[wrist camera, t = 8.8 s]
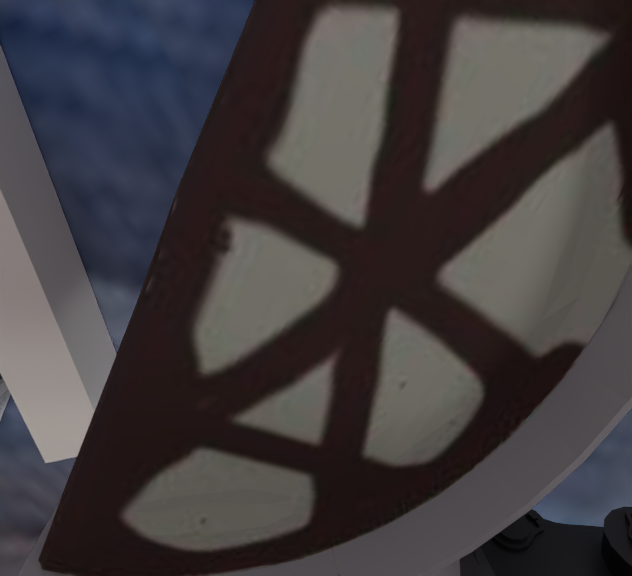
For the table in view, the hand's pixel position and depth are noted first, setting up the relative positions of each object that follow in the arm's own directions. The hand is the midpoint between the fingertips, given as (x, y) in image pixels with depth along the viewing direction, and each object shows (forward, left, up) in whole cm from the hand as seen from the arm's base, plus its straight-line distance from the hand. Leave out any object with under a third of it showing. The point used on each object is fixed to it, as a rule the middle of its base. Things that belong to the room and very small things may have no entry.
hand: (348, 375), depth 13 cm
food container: (0, -6, -2) cm, 6 cm away
